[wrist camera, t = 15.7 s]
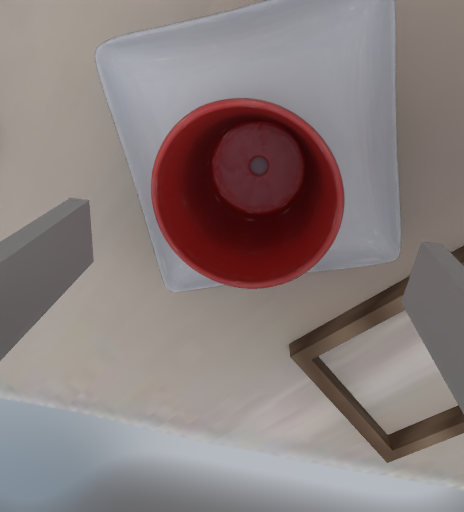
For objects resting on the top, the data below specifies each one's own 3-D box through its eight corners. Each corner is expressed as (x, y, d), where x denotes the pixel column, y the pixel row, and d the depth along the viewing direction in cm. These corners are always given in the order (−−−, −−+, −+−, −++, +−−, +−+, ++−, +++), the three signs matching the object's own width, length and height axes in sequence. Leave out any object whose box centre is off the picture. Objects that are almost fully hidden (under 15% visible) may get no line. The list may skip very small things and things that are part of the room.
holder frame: (464, 245, 34) (475, 255, 32) (549, 379, 39) (562, 394, 38) (289, 344, 40) (290, 356, 39) (382, 447, 46) (387, 462, 44)
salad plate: (382, -26, 27) (396, -39, 24) (392, 247, 35) (403, 263, 32) (104, 46, 30) (85, 43, 27) (175, 278, 39) (166, 295, 36)
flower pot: (295, 60, 26) (294, 53, 17) (351, 201, 30) (372, 253, 21) (167, 130, 29) (113, 154, 21) (230, 249, 33) (207, 312, 24)
